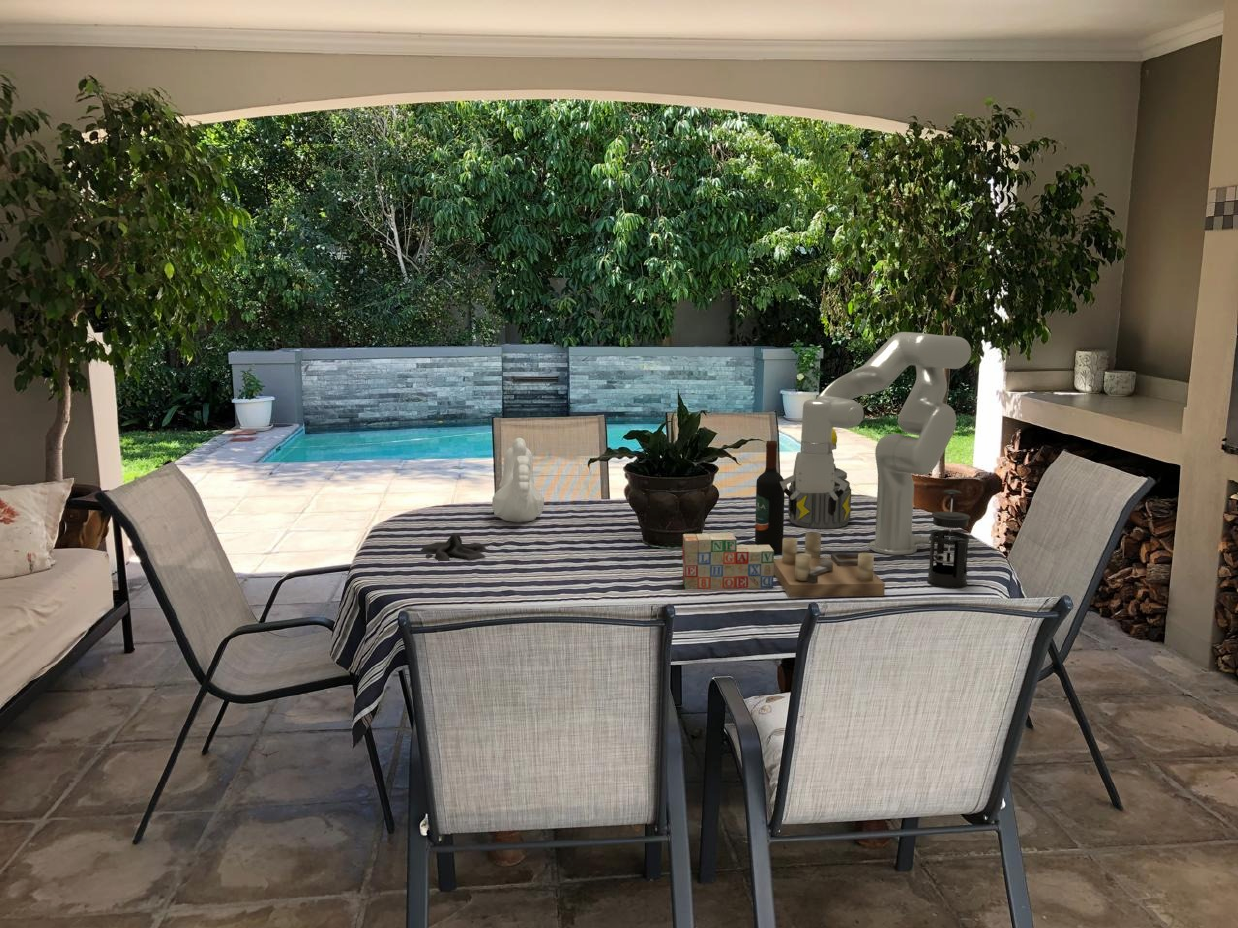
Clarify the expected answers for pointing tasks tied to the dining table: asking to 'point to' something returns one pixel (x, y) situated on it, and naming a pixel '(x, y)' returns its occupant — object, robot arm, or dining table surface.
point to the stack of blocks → (725, 563)
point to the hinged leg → (809, 566)
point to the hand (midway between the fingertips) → (812, 514)
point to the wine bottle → (770, 503)
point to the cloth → (454, 549)
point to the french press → (947, 573)
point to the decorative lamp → (823, 505)
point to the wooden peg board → (829, 575)
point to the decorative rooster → (518, 487)
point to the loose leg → (813, 544)
